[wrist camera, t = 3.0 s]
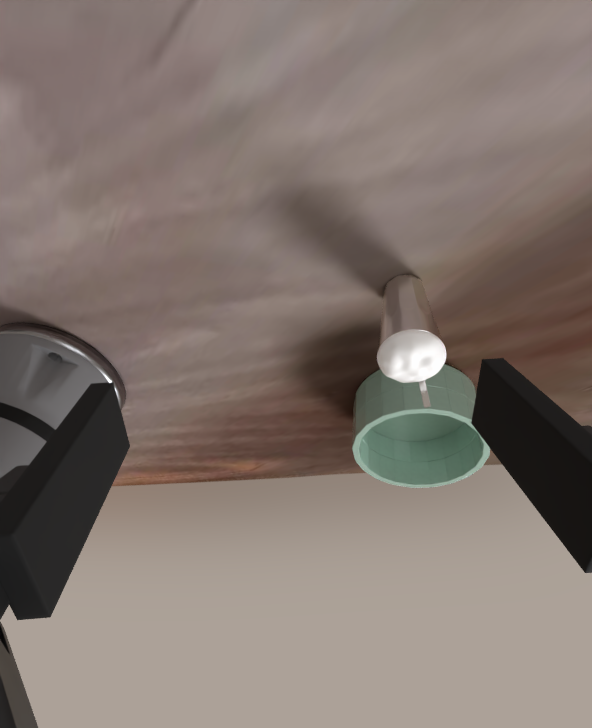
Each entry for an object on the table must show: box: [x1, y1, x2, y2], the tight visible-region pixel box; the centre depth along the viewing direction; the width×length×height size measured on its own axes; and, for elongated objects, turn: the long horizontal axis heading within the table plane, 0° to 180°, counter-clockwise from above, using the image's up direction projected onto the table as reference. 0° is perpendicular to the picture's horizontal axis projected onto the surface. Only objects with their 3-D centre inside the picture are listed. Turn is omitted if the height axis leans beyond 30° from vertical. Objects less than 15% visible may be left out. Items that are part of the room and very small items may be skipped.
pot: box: [352, 364, 490, 488], centre depth 42 cm, size 12×12×6 cm
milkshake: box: [377, 275, 446, 408], centre depth 31 cm, size 5×5×10 cm
